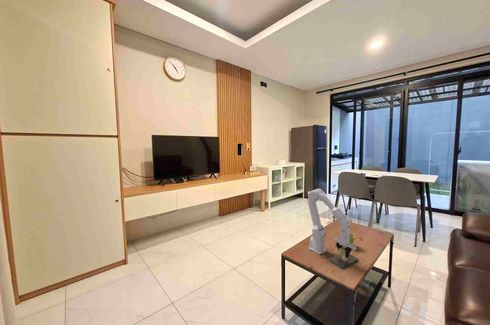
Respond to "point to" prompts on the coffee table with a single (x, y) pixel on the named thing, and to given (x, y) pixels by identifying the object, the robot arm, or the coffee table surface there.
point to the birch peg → (342, 254)
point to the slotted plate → (341, 263)
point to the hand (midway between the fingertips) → (343, 255)
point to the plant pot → (351, 238)
